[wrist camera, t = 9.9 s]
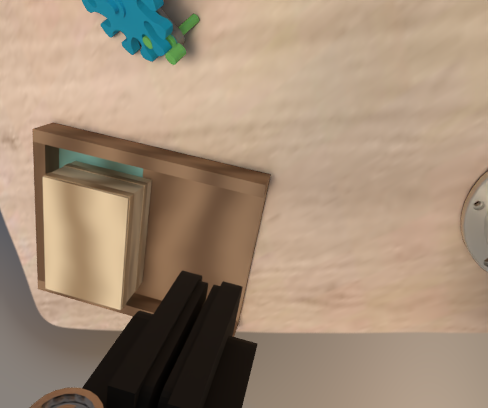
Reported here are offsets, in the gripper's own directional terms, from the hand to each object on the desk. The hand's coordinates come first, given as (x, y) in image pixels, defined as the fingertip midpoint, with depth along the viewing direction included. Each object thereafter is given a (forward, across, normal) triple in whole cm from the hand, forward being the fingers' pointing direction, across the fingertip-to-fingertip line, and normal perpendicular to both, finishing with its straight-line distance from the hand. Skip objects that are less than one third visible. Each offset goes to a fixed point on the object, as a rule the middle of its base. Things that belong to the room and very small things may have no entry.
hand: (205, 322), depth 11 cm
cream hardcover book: (+26, +16, +14) cm, 34 cm away
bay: (+27, +12, +14) cm, 33 cm away
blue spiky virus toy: (+27, +14, -7) cm, 32 cm away
